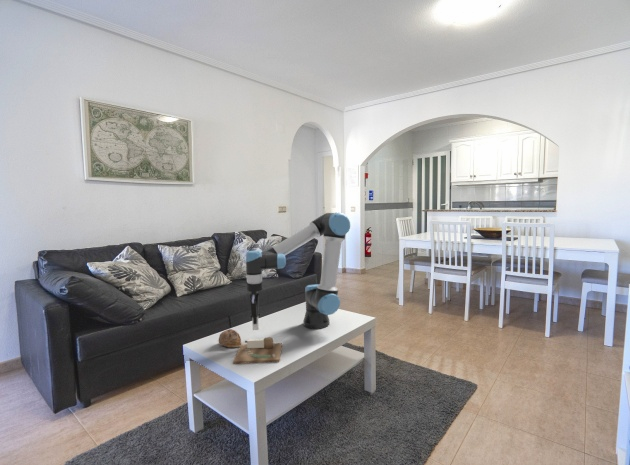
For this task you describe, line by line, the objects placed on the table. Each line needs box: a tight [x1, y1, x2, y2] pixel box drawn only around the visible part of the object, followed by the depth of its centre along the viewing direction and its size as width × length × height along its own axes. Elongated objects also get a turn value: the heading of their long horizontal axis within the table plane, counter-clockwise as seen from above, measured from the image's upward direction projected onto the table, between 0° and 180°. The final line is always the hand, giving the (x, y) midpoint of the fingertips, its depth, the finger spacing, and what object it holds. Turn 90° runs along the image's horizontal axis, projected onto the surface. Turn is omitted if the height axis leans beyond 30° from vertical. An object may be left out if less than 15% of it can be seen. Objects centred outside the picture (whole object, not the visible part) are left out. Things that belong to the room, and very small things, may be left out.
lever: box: [244, 336, 274, 349], centre depth 157 cm, size 13×4×4 cm, turn 92°
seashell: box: [218, 328, 243, 348], centre depth 165 cm, size 10×9×10 cm
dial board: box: [232, 342, 283, 365], centre depth 153 cm, size 20×18×1 cm
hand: (255, 329), depth 163 cm, fingers closed
